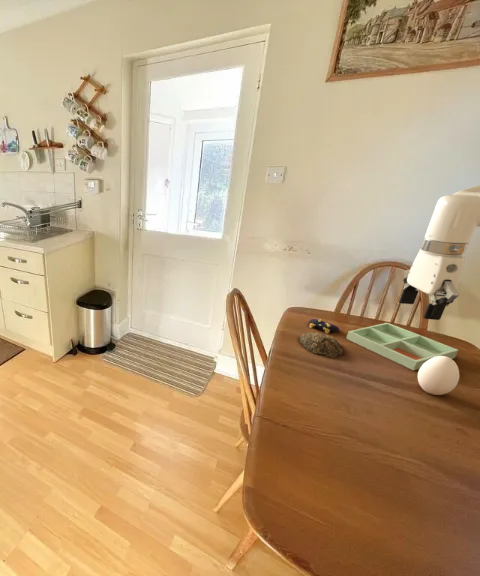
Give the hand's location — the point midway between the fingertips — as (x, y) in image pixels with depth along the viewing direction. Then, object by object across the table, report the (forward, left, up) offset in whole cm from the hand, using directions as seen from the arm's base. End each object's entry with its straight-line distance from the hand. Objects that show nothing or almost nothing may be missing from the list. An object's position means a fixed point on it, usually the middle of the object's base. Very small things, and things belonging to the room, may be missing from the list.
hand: (417, 310), depth 82 cm
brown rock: (0, -21, -24) cm, 32 cm away
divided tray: (-24, -12, -24) cm, 36 cm away
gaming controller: (-13, -31, -24) cm, 41 cm away
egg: (-7, +6, -24) cm, 26 cm away
